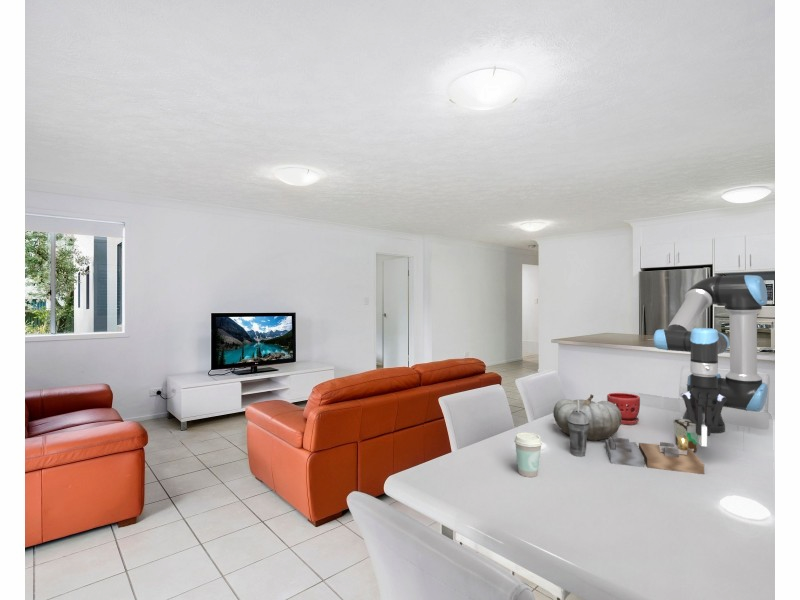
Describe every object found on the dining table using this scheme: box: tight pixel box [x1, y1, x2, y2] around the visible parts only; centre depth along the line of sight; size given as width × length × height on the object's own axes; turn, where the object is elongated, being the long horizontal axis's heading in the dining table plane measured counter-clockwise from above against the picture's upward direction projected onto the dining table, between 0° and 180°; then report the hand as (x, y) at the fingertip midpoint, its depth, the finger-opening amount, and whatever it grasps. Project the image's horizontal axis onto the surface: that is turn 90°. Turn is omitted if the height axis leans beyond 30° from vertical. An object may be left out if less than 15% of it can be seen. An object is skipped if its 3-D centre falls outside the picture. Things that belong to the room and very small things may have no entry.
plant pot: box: [606, 392, 641, 425], centre depth 195 cm, size 13×13×12 cm
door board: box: [605, 436, 705, 475], centre depth 151 cm, size 27×16×5 cm, turn 70°
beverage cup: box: [568, 399, 589, 458], centre depth 156 cm, size 7×7×20 cm
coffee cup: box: [513, 432, 543, 478], centre depth 140 cm, size 8×8×12 cm
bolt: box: [659, 436, 688, 455], centre depth 149 cm, size 8×3×6 cm, turn 70°
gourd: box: [552, 394, 622, 442], centre depth 176 cm, size 25×25×17 cm
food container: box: [673, 417, 699, 454], centre depth 161 cm, size 12×6×10 cm, turn 168°
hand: (702, 444), depth 146 cm, fingers closed
